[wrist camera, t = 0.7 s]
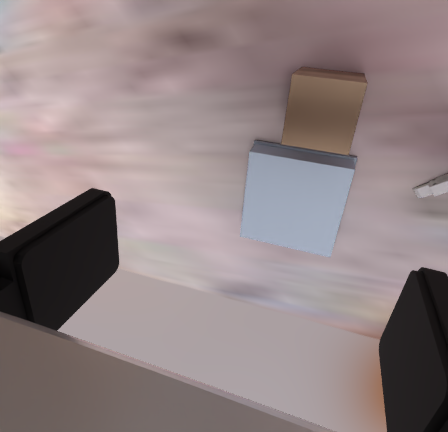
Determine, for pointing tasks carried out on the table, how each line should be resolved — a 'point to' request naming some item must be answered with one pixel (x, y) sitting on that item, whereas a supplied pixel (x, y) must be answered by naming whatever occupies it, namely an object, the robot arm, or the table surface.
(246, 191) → the base block
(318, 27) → the table surface
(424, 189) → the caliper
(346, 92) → the walnut block
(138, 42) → the table surface
